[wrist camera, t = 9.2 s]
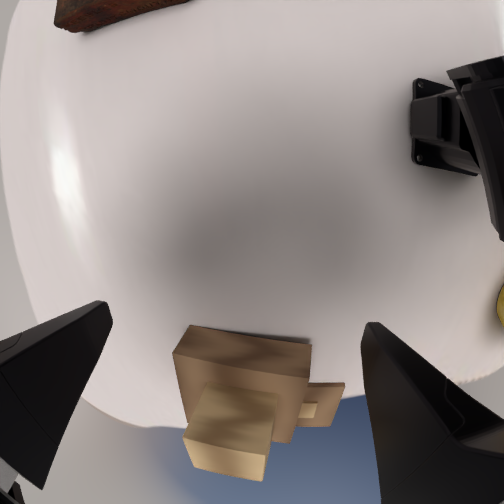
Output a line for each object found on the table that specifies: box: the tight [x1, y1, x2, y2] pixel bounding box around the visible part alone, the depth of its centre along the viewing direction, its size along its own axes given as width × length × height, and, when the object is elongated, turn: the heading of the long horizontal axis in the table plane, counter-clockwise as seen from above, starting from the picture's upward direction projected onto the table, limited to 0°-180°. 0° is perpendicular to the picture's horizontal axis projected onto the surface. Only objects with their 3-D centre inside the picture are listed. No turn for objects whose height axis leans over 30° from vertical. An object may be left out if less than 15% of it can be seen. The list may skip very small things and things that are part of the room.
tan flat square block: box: [172, 325, 312, 443], centre depth 24 cm, size 11×11×4 cm
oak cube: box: [183, 382, 278, 481], centre depth 20 cm, size 6×6×6 cm
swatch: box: [296, 383, 345, 427], centre depth 28 cm, size 8×8×1 cm
